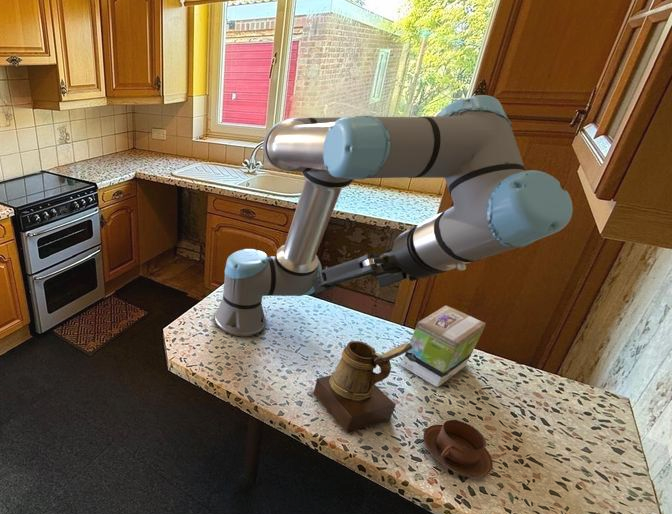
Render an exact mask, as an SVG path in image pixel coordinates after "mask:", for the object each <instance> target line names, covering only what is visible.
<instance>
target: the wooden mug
mask: <svg viewBox="0 0 672 514" xmlns="http://www.w3.org/2000/svg"><path fill="white" fill-rule="evenodd" d="M410 349H412V345H411V344H410V342H405V343H401V344H400V345H397V346H395V347H394V348H391V349H390V350H388V351H387V352H385V353H383V354H380V353H378V352H376V350H375V348H374V347H372V346H371V345H369V344H368V343H366V342H363V341H359V340H352V341H349V342H348V343H347V345H346V346H345V347H344V348H343V349H342V351H341V358H340V359H339V361H338V364H337V365H336V368H335V369H334V371H333V372H332V374H331V375H332V376H331V378H330V385H331V387H332V389H333V390H334V391H335V392H336V393H338V394H339V395H341V396H343V397H345V398H348V399H351V400H357V401H361V400H365V399H367V398H369V397H370V396H371V395H372V391H373V385H374V384H375V385H376V384H378V383H379V382H382V381H384V380H385V379H387V378H388V377H389V376H390V374H391V371H392V364H391V360H392V359H395V358H398V357H400V356H402V355H405V353H406V352H407V351H409V350H410ZM377 366H378V367H379V369H380V372H378V373H377V372H375V371H374V369H376V368H377Z"/></svg>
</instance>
